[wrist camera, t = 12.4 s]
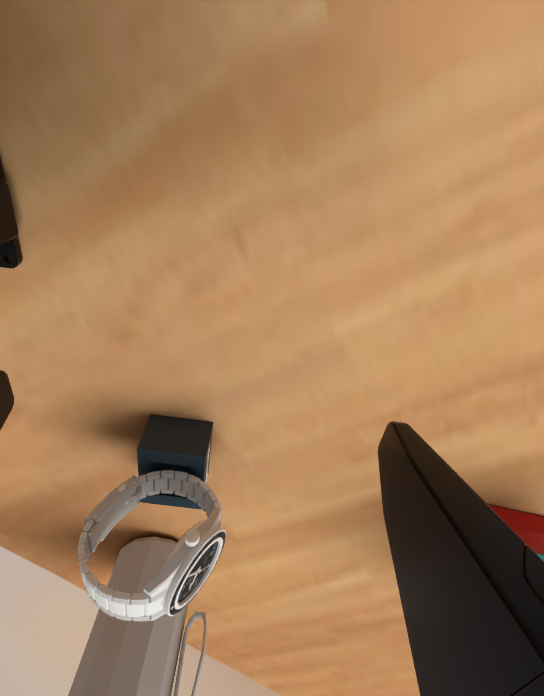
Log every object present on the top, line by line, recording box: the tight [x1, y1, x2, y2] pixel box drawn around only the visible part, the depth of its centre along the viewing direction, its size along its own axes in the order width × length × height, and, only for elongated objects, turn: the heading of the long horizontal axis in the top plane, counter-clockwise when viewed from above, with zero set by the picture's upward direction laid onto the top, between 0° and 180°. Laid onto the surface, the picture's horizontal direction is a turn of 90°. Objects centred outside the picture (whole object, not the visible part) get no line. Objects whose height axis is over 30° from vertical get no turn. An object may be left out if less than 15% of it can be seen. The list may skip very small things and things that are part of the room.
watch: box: [78, 414, 226, 621], centre depth 24 cm, size 6×8×11 cm
